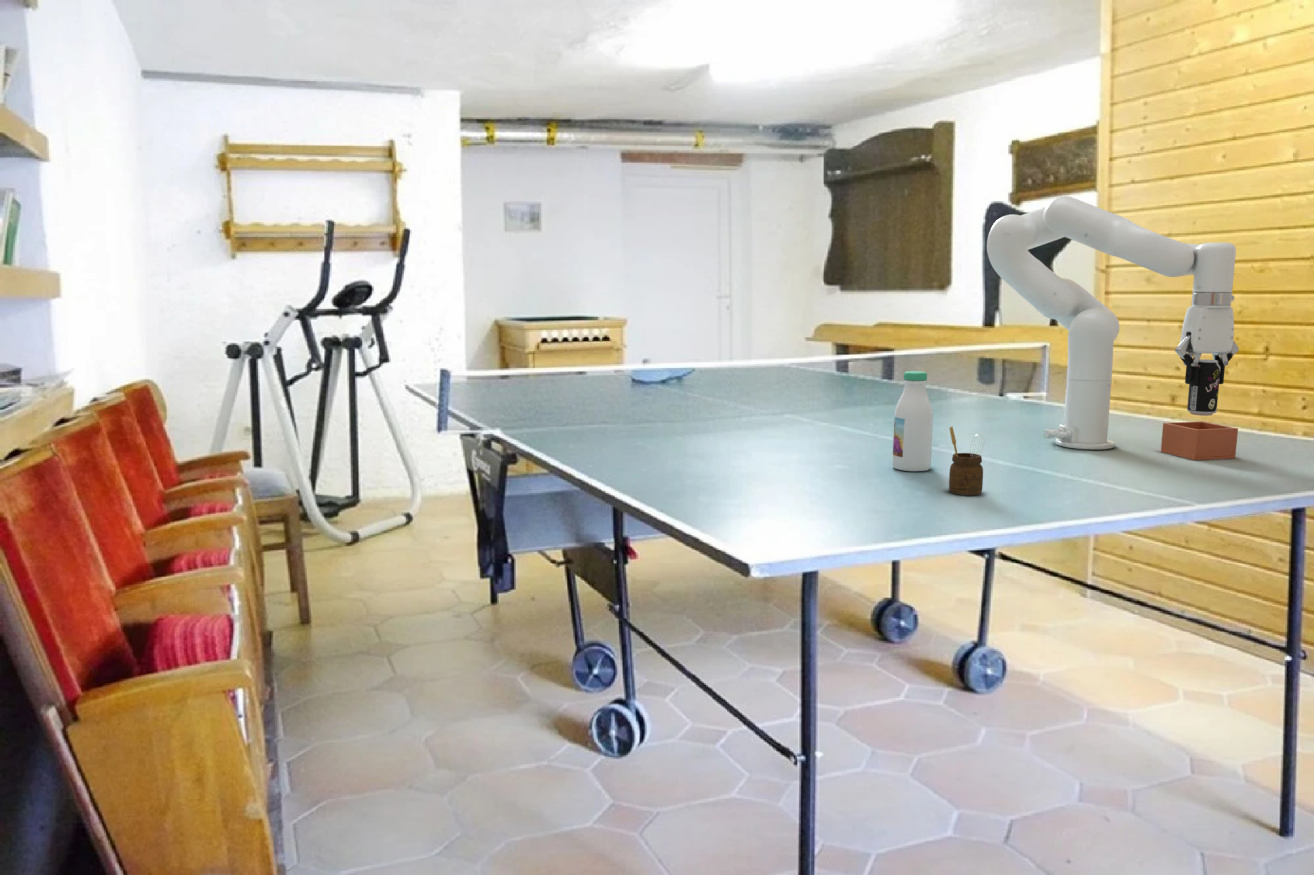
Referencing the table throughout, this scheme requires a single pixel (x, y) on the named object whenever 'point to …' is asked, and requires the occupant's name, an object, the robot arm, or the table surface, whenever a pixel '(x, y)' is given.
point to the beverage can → (1205, 389)
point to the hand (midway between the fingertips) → (1204, 383)
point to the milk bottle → (913, 425)
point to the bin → (1199, 440)
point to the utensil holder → (965, 471)
